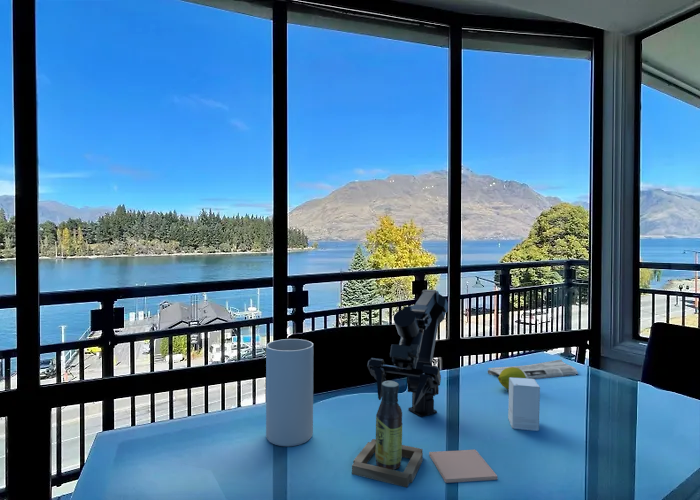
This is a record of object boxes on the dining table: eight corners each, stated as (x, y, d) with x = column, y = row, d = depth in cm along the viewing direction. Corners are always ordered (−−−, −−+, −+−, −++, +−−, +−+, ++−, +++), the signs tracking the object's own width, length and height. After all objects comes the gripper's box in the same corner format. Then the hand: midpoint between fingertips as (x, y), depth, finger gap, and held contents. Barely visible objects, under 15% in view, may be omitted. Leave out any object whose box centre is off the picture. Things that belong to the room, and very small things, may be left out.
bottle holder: (371, 446, 112) (371, 438, 111) (424, 457, 106) (424, 449, 106) (349, 473, 99) (349, 464, 99) (409, 488, 93) (409, 478, 93)
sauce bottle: (373, 458, 105) (374, 378, 105) (398, 457, 106) (399, 377, 105) (377, 473, 99) (378, 387, 98) (404, 472, 99) (405, 387, 99)
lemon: (519, 385, 158) (520, 363, 158) (532, 393, 150) (532, 370, 150) (492, 386, 156) (492, 365, 156) (503, 394, 148) (503, 371, 148)
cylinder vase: (320, 430, 120) (320, 341, 119) (300, 451, 109) (301, 353, 108) (280, 423, 124) (280, 337, 124) (257, 443, 113) (257, 348, 112)
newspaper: (503, 383, 161) (503, 373, 161) (484, 372, 174) (484, 364, 173) (580, 375, 171) (581, 367, 170) (558, 366, 183) (558, 358, 182)
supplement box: (539, 431, 121) (540, 387, 120) (511, 428, 122) (512, 384, 122) (533, 420, 128) (534, 378, 127) (507, 418, 129) (508, 376, 129)
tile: (429, 455, 107) (429, 452, 107) (475, 452, 109) (475, 449, 109) (445, 482, 95) (445, 479, 95) (497, 479, 97) (497, 476, 97)
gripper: (369, 328, 116) (353, 381, 106) (439, 334, 108) (429, 392, 99) (379, 350, 123) (364, 401, 113) (444, 358, 116) (435, 413, 106)
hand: (396, 402), depth 108 cm, fingers open, 9 cm apart
